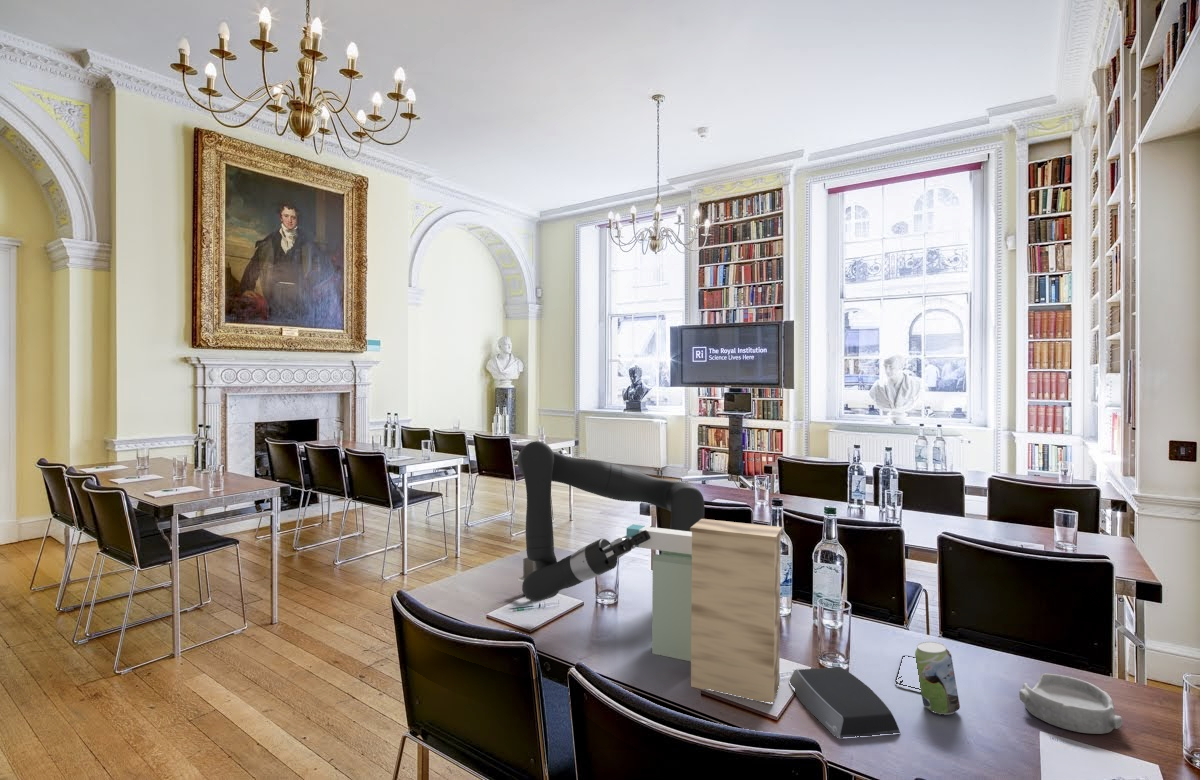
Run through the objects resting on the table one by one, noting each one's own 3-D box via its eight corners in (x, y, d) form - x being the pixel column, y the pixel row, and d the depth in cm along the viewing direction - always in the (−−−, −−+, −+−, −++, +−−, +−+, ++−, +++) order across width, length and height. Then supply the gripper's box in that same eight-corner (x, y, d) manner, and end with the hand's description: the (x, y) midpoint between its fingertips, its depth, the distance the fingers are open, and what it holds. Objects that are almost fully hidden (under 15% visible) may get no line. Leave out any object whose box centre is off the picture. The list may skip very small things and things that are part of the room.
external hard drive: (833, 742, 102) (834, 719, 102) (784, 685, 121) (785, 665, 121) (904, 737, 103) (905, 714, 103) (845, 682, 123) (845, 662, 123)
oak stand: (700, 668, 127) (701, 518, 127) (781, 685, 120) (782, 527, 120) (689, 687, 119) (690, 527, 119) (774, 706, 112) (775, 537, 112)
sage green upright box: (662, 641, 140) (662, 547, 140) (712, 651, 135) (713, 553, 135) (652, 653, 134) (652, 555, 134) (704, 664, 129) (705, 562, 129)
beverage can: (965, 721, 108) (965, 655, 107) (920, 716, 109) (921, 651, 109) (951, 702, 114) (952, 640, 114) (910, 698, 115) (910, 637, 115)
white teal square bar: (632, 541, 142) (633, 524, 141) (734, 554, 132) (734, 536, 131) (626, 545, 138) (626, 528, 138) (730, 559, 128) (730, 540, 128)
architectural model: (542, 581, 183) (543, 545, 183) (582, 595, 172) (582, 556, 172) (494, 597, 169) (494, 558, 169) (533, 613, 158) (533, 571, 158)
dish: (1016, 717, 109) (1016, 690, 109) (1026, 689, 119) (1026, 664, 119) (1121, 750, 99) (1121, 721, 99) (1122, 716, 110) (1122, 689, 110)
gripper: (573, 553, 138) (633, 523, 132) (598, 538, 151) (654, 510, 145) (587, 583, 137) (648, 554, 130) (612, 566, 149) (669, 539, 143)
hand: (651, 531), depth 137 cm, fingers closed on white teal square bar, 4 cm apart
